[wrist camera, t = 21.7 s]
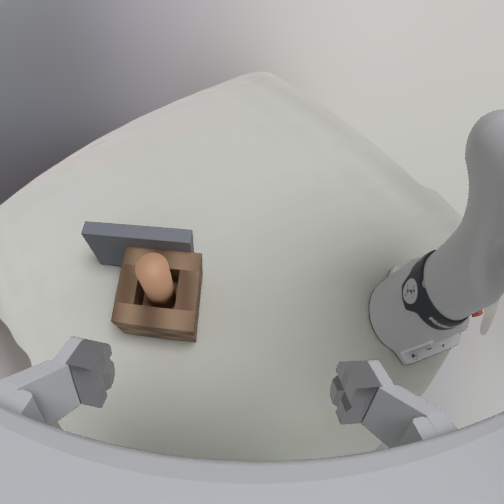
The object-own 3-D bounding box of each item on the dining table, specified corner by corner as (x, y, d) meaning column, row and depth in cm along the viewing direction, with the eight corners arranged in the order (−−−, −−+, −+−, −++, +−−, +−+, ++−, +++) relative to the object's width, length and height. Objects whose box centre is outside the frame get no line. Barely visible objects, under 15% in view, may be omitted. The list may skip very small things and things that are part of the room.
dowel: (178, 287, 44) (171, 254, 35) (174, 313, 42) (165, 286, 33) (152, 284, 44) (138, 250, 34) (148, 309, 42) (132, 282, 32)
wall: (194, 262, 49) (192, 230, 40) (193, 273, 48) (190, 243, 39) (104, 253, 48) (85, 221, 39) (101, 263, 47) (81, 233, 38)
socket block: (202, 273, 48) (201, 253, 42) (195, 341, 43) (193, 331, 37) (136, 267, 47) (126, 246, 41) (124, 333, 42) (111, 321, 36)
